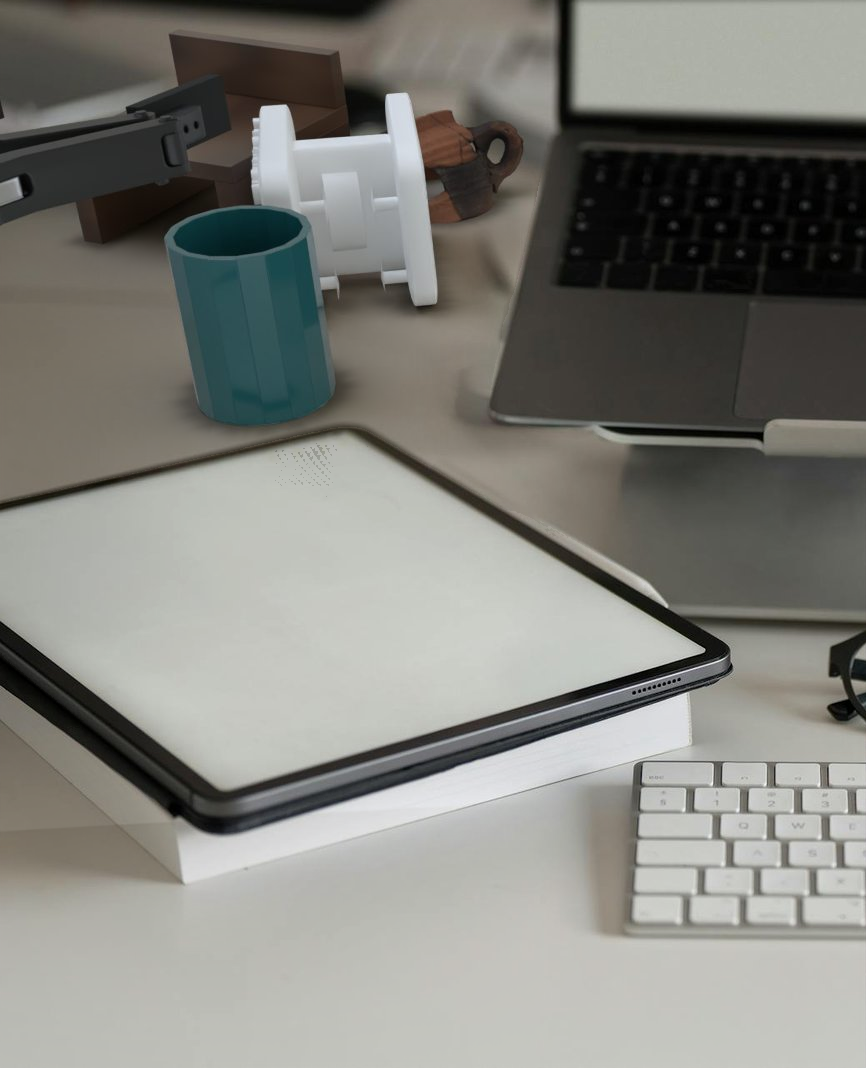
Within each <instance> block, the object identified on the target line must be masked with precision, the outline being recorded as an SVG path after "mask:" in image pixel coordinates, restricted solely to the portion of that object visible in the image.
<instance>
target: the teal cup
mask: <svg viewBox="0 0 866 1068" xmlns="http://www.w3.org/2000/svg"><path fill="white" fill-rule="evenodd" d="M163 240H164V246H165V251H166V255H167V261H168V266H169V271H170V274H171V281H172V285H173V290H174V294H175V300H176V305H177V309H178V315H179V319H180V324H181V329H182V334H183V339H184V344H185V349H186V354H187V358H188V359H187V360H188V364H189V368H190V374H191V379H192V384H193V389H194V393H195V398H196V401H197V404H198V408H199V410H200V411H201V412H202V413H203V414H204V415H205V416H206V417H208V418H210V419H211V420H213V421H216V422H218V423H223V424H226V425H234V426H243V427H258V426H259V427H260V426H270V425H276V424H282V423H286V422H290V421H295V420H299V419H301V418H303V417H306V416H307V415H310V414H312V413H314V412H316V411H319V410H320V409H321V408H322V407H324V406H325V405H327V403H329V402H330V400H331V399H332V398H333V396H334V394H335V391H336V387H337V383H336V376H335V370H334V363H333V356H332V349H331V342H330V337H329V336H330V335H329V331H328V324H327V316H326V311H325V304H324V297H323V290H321V283H320V277H319V270H318V264H317V257H316V251H315V244H314V238H313V231H312V226H311V224H310V222H309V220H308V219H307V217H306V216H304V215H302V214H300V213H298V212H296V211H294V210H291V209H286V208H280V207H274V206H267V205H254V206H234V207H227V208H220V209H219V208H214V209H210V210H207V211H204V212H201V213H197V214H194V215H191V216H188V217H186V218H184V219H183V220H181V221H179V222H177V223H175V224H174V225H172V226H171V227H170V228H169V229H168V231H167V233H166V234H165V235H164V238H163Z"/></svg>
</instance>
